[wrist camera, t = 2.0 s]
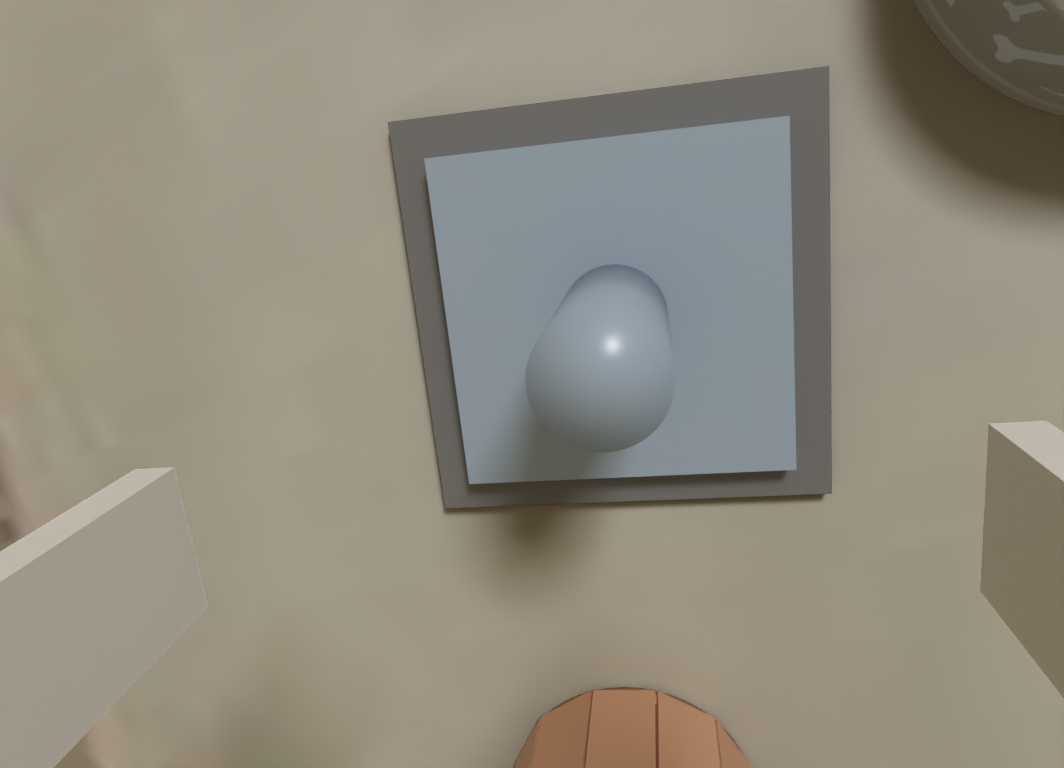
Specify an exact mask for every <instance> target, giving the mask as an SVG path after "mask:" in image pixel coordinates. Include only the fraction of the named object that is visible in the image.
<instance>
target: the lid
mask: <svg viewBox="0 0 1064 768" xmlns="http://www.w3.org/2000/svg"><path fill="white" fill-rule="evenodd" d="M424 161H425V169H426V176H427V183H428V190H429V197H430V205H431V212H432V219H433V226H434V234H435V241H436V248H437V255H438V262H439V270H440V277H441V284H442V291H443V299H444V306H445V313H446V320H447V327H448V335H449V342H450V349H451V356H452V364H453V371H454V378H455V385H456V392H457V400H458V407H459V414H460V421H461V429H462V436H463V443H464V450H465V457H466V465H467V472H468V479H469V484H482V483H505V482H528V481H551V480H574V479H597V478H620V477H643V476H666V475H689V474H712V473H735V472H758V471H781V470H796V418H795V366H794V313H793V261H792V209H791V157H790V116H782V117H774V118H765V119H757V120H748V121H739V122H731V123H722V124H714V125H705V126H697V127H688V128H680V129H671V130H663V131H654V132H646V133H637V134H629V135H620V136H612V137H603V138H595V139H586V140H578V141H569V142H561V143H552V144H544V145H535V146H527V147H518V148H510V149H501V150H493V151H484V152H476V153H467V154H459V155H450V156H442V157H433V158H425V159H424Z"/></svg>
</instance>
